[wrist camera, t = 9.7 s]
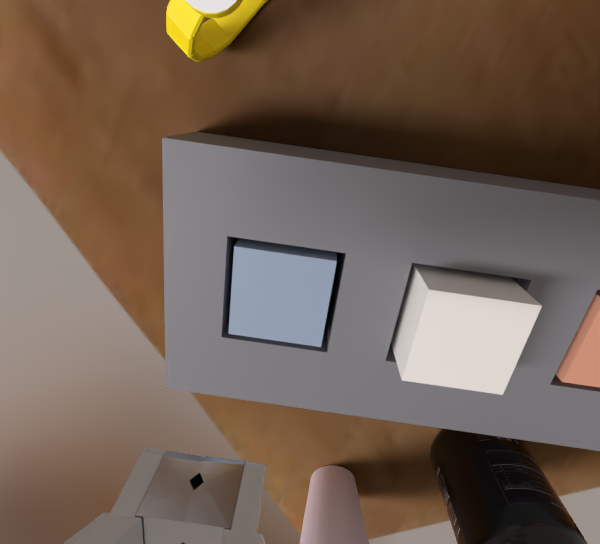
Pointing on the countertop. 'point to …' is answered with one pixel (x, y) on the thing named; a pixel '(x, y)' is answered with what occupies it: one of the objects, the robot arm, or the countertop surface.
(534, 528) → the supplement bottle
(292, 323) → the slate blue key
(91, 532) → the robot arm
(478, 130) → the countertop surface
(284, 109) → the countertop surface
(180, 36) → the watch
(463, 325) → the white key
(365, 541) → the smoothie
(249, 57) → the countertop surface
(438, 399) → the key panel
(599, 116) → the countertop surface
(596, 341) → the terracotta key
